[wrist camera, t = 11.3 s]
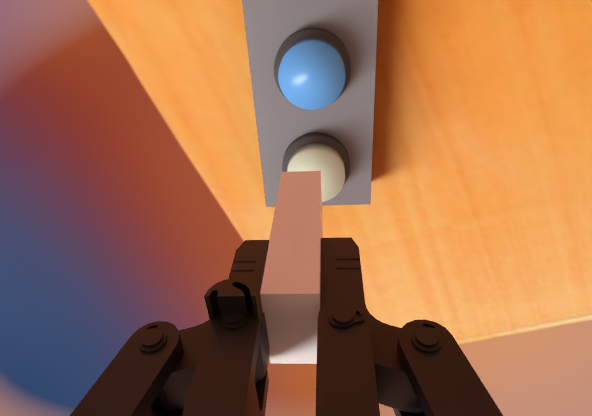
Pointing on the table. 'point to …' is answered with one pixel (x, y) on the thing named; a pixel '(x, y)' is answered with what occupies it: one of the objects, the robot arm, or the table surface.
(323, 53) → the blue button
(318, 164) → the sage button
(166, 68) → the table surface
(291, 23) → the button panel
